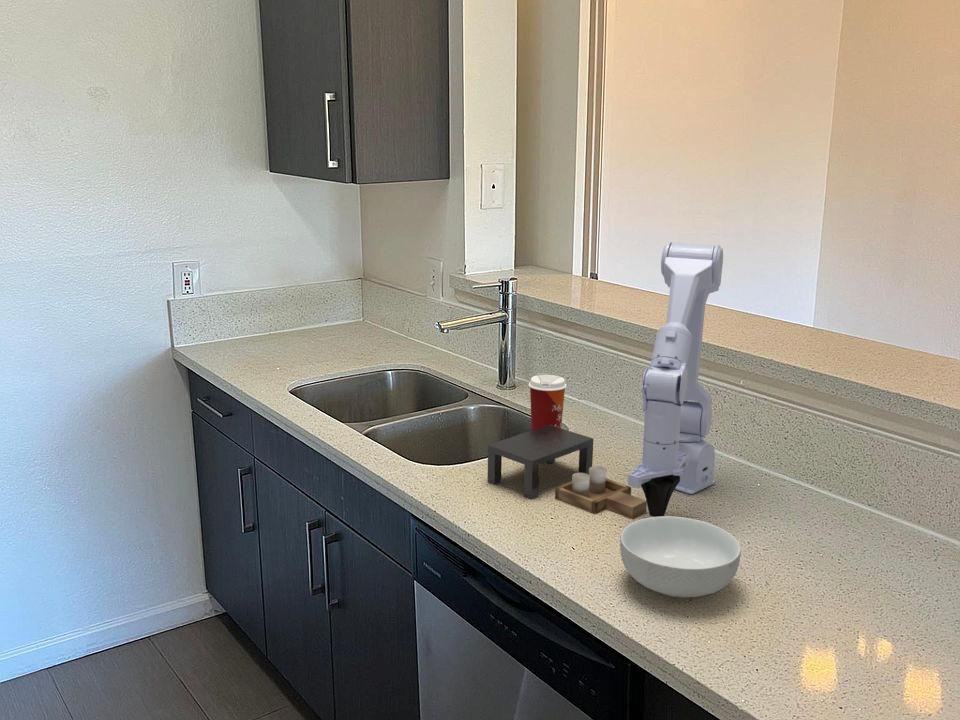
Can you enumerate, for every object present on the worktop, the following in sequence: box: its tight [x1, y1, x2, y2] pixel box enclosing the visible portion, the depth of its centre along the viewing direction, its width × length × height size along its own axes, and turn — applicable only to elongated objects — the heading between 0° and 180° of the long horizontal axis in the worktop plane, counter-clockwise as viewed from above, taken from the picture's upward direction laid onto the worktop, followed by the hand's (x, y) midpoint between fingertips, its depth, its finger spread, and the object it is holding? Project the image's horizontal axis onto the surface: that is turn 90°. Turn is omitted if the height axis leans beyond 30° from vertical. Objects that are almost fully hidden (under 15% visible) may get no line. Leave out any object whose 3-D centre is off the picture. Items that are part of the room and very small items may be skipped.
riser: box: [487, 425, 594, 500], centre depth 170 cm, size 11×17×7 cm, turn 134°
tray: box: [554, 465, 648, 519], centre depth 160 cm, size 14×10×4 cm
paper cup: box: [528, 374, 567, 430], centre depth 187 cm, size 8×8×14 cm
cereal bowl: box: [619, 515, 742, 599], centre depth 132 cm, size 17×17×7 cm
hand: (656, 515), depth 153 cm, fingers closed
